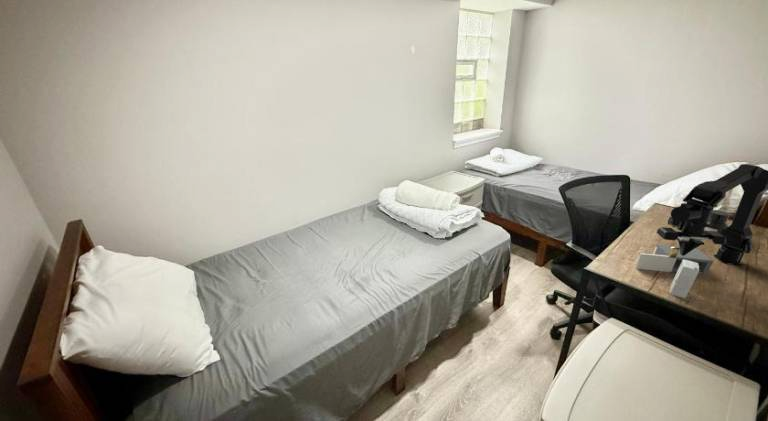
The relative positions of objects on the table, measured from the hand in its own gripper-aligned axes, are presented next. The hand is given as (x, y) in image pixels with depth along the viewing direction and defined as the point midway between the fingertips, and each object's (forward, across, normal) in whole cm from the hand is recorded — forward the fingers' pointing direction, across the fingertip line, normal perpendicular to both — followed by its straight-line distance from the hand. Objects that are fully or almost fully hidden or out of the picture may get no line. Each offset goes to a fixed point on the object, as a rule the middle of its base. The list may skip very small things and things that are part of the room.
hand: (682, 255), depth 120 cm
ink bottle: (+8, -34, -40) cm, 53 cm away
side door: (+8, +8, 0) cm, 11 cm away
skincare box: (+8, +6, +14) cm, 17 cm away
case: (+8, -4, -6) cm, 11 cm away
